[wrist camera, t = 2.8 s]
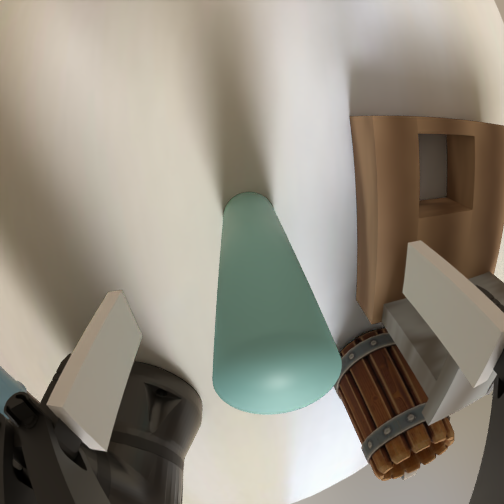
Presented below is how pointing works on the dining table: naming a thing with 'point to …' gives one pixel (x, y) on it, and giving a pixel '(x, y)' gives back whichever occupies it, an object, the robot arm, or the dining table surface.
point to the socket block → (426, 235)
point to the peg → (267, 318)
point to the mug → (388, 407)
